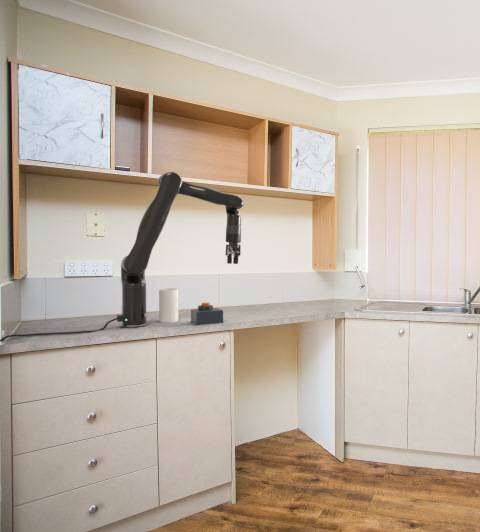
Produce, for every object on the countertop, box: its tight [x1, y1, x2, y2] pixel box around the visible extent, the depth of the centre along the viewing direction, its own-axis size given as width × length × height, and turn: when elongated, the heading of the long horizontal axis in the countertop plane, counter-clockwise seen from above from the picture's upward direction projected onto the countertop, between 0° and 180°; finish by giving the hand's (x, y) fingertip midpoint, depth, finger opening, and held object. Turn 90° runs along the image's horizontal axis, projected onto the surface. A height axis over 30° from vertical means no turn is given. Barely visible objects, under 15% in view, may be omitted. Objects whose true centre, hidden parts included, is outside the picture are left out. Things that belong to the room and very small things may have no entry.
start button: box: [200, 302, 211, 306], centre depth 195 cm, size 4×4×2 cm
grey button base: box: [190, 304, 224, 326], centre depth 194 cm, size 12×12×8 cm
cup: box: [158, 288, 179, 323], centre depth 195 cm, size 8×8×16 cm
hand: (232, 263), depth 210 cm, fingers open, 8 cm apart
